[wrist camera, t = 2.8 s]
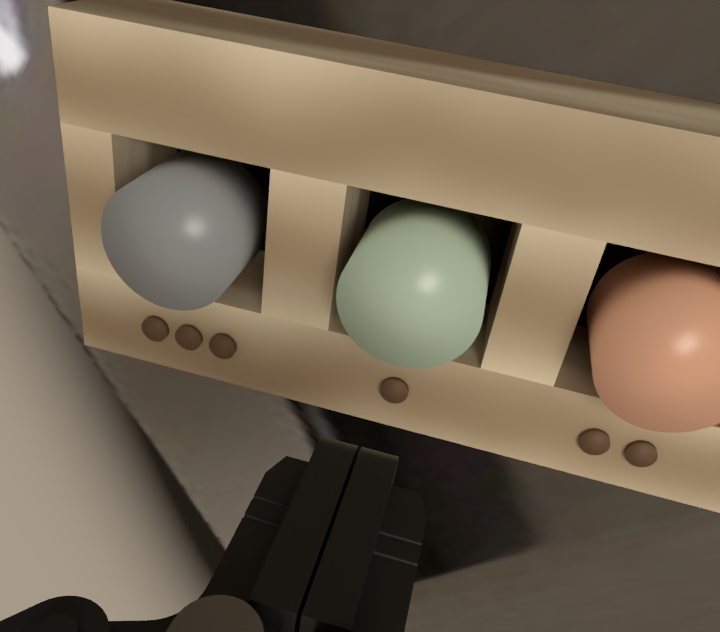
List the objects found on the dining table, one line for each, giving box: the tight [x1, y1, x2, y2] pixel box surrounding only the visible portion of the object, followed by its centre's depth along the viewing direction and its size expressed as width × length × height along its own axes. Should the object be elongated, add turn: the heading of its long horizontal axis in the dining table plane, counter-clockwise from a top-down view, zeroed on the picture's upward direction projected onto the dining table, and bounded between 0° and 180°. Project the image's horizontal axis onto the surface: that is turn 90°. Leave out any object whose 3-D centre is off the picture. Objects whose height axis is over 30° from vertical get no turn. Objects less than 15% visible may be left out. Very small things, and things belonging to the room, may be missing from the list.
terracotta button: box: [587, 252, 720, 433], centre depth 18 cm, size 4×4×3 cm
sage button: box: [336, 199, 491, 369], centre depth 19 cm, size 4×4×3 cm
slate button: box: [101, 150, 268, 311], centre depth 20 cm, size 4×4×3 cm
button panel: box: [48, 0, 720, 513], centre depth 21 cm, size 11×22×4 cm, turn 82°
